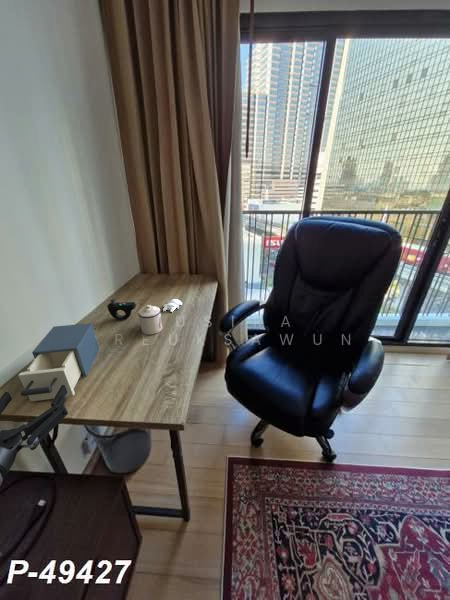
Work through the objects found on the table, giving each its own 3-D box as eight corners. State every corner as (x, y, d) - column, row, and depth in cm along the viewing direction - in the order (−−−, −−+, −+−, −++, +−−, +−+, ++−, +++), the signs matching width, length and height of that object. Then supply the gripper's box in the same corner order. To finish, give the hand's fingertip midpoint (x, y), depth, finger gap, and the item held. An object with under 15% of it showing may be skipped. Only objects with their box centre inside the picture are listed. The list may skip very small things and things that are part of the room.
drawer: (66, 409, 70) (55, 383, 66) (21, 415, 68) (6, 389, 64) (88, 365, 86) (80, 341, 82) (52, 369, 85) (42, 345, 80)
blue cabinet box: (86, 376, 83) (76, 347, 78) (44, 381, 81) (31, 352, 76) (99, 349, 96) (91, 323, 91) (63, 353, 94) (53, 326, 89)
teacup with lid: (164, 332, 106) (161, 308, 101) (142, 337, 103) (138, 312, 98) (159, 319, 116) (156, 296, 111) (139, 323, 113) (134, 300, 108)
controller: (112, 317, 118) (107, 298, 113) (139, 315, 119) (135, 296, 115) (109, 322, 114) (104, 302, 110) (137, 320, 115) (133, 301, 111)
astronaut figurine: (158, 311, 123) (157, 305, 122) (171, 300, 133) (171, 295, 132) (173, 314, 120) (173, 308, 119) (186, 303, 130) (185, 298, 129)
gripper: (-84, 499, 48) (-10, 408, 67) (58, 475, 51) (90, 395, 70) (-107, 476, 45) (-22, 387, 63) (46, 452, 48) (83, 375, 67)
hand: (37, 391), depth 67 cm, fingers open, 13 cm apart
